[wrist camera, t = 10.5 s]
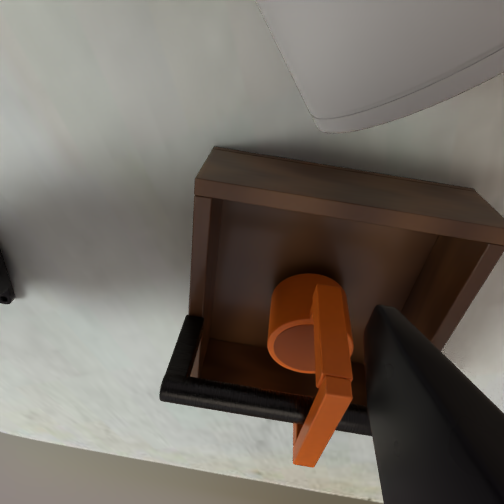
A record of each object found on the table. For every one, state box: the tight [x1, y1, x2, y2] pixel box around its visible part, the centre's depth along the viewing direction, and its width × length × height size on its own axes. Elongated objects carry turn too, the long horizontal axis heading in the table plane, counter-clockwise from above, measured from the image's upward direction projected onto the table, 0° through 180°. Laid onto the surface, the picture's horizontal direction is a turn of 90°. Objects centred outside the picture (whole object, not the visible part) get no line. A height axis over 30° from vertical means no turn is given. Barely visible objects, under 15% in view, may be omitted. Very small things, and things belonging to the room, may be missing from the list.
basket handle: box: [159, 315, 372, 436], centre depth 18 cm, size 14×1×5 cm, turn 82°
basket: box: [189, 147, 504, 406], centre depth 21 cm, size 14×15×4 cm
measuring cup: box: [267, 273, 354, 467], centre depth 18 cm, size 5×6×9 cm
